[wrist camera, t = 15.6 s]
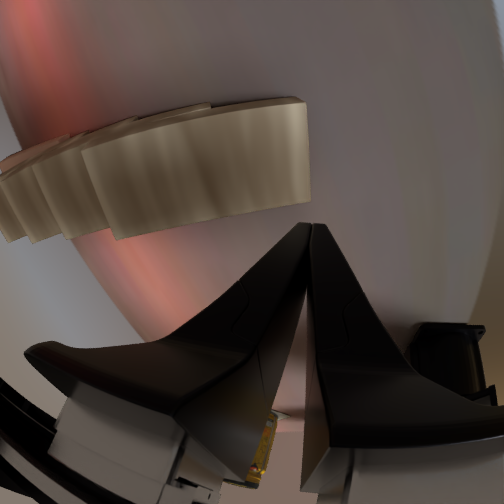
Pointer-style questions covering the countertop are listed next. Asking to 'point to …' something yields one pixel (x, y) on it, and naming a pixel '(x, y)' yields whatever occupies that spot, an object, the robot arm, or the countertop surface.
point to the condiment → (261, 453)
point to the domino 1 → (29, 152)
